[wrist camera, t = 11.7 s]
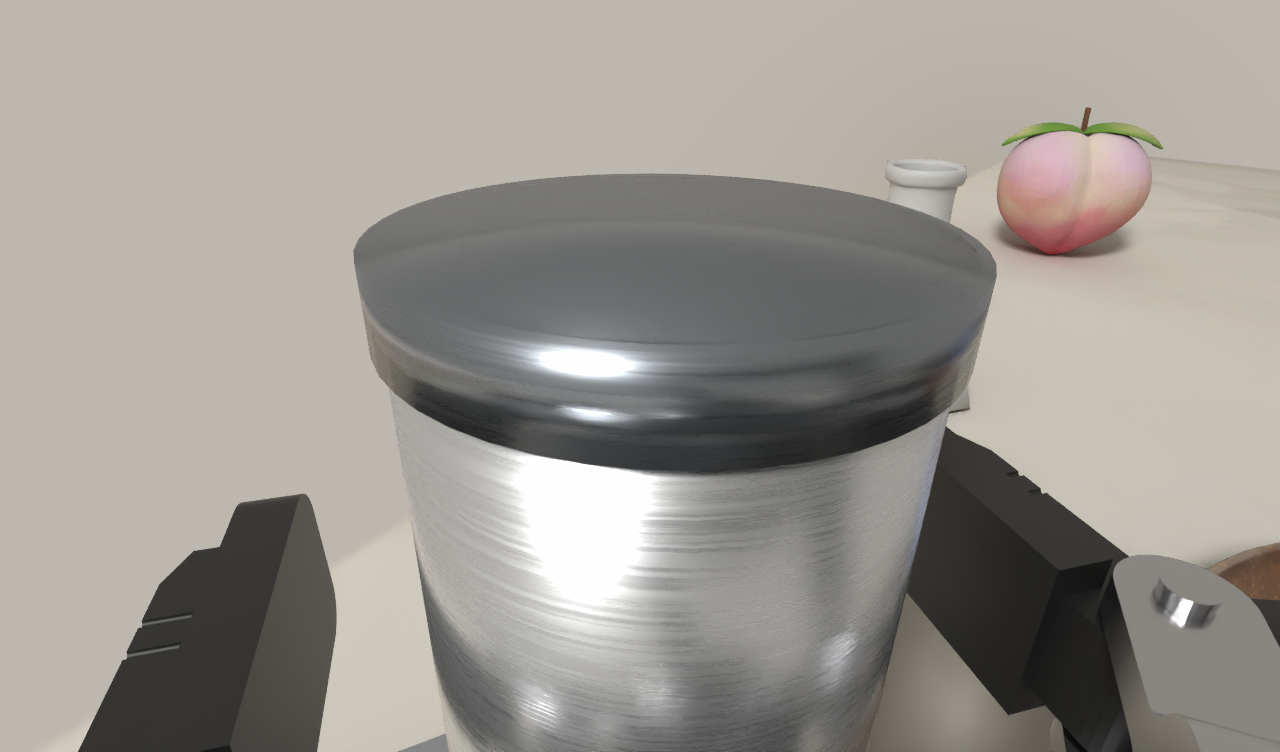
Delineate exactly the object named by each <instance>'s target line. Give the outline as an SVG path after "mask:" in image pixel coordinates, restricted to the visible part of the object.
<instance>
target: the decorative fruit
mask: <svg viewBox="0 0 1280 752" xmlns="http://www.w3.org/2000/svg"><path fill="white" fill-rule="evenodd" d="M1090 112H1091V108H1086V109H1085V114H1084V118H1083V122H1082V127H1076V126H1073V125H1069V124H1063V123H1042V124H1037V125H1032V126H1029V127H1027V128H1025V129H1023V130H1021V131H1019V132H1017V133H1016V134H1014V135H1013V136H1011V137H1010V138H1008V139H1007V140H1006V141H1005V142H1004V143H1003V144H1002V146H1004V145H1006V144H1009V143H1012V142H1014V141H1017V140H1020V139H1023V138H1026V137H1028V138H1026V139H1025V140H1023V141H1022V142H1021V143H1019V144H1018V145H1017V146H1016V147H1015V148H1014V149H1013V150H1012V151H1011V152H1010V154H1009V155H1008V156H1007V158H1006V160H1005V161H1004V163H1003V166H1002V168H1001V172H1000V175H999V180H998V187H997V202H998V207H999V210H1000V213H1001V215H1002V217H1003V219H1004V221H1005V222H1006V224H1007V225H1008V226H1009V227H1010V229H1011V230H1012V231H1014V232H1015V233H1016V234H1017V235H1018V236H1020V237H1021V238H1023V239H1024V240H1026V241H1027V242H1029V243H1030V244H1032V245H1033V246H1035V247H1037V248H1038V249H1040V250H1041V251H1043V252H1045V253H1047V254H1059V253H1063V252H1067V251H1070V250H1073V249H1076V248H1078V247H1081V246H1084V245H1087V244H1089V243H1092V242H1094V241H1097V240H1099V239H1101V238H1103V237H1105V236H1107V235H1109V234H1111V233H1112V232H1114V231H1116V230H1117V229H1119V228H1120V227H1122V226H1123V225H1124V224H1126V223H1127V222H1128V221H1129V220H1130V219H1131V218H1133V217H1134V216H1135V215H1136V214H1137V212H1138V211H1139V210H1140V209H1141V208H1142V206H1143V205H1144V203H1145V201H1146V199H1147V197H1148V194H1149V192H1150V188H1151V181H1152V171H1151V165H1150V160H1149V158H1148V156H1147V153H1146V152H1145V151H1144V149H1143V148H1142V147H1141V145H1140V144H1139V143H1138V142H1137V141H1135V140H1134V139H1133V138H1131V137H1130V136H1132V137H1136V138H1139V139H1142V140H1144V141H1147V142H1149V143H1151V144H1152V145H1153V146H1155V147H1158V148H1159V149H1163V147H1162V146H1161V144H1160V142H1159V141H1158V140H1157V139H1156V138H1155V137H1154V136H1153V135H1152V134H1150V133H1149V132H1148V131H1146V130H1144V129H1142V128H1139V127H1136V126H1133V125H1129V124H1123V123H1101V124H1096V125H1093V126H1090V127H1087V124H1088V119H1089V115H1090Z"/></svg>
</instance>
